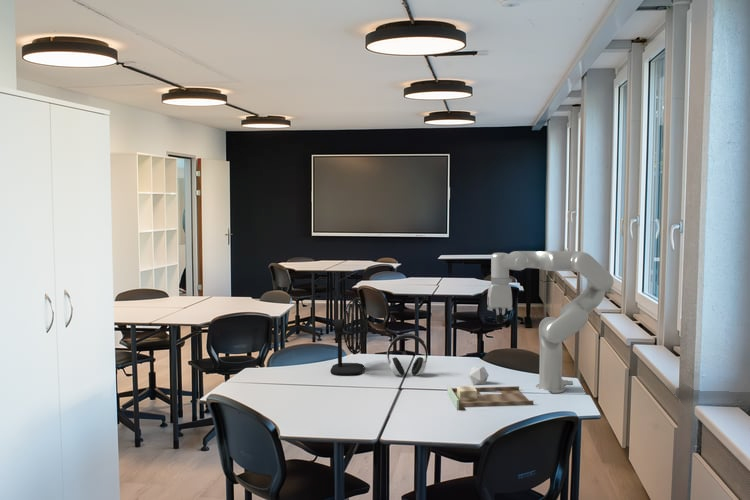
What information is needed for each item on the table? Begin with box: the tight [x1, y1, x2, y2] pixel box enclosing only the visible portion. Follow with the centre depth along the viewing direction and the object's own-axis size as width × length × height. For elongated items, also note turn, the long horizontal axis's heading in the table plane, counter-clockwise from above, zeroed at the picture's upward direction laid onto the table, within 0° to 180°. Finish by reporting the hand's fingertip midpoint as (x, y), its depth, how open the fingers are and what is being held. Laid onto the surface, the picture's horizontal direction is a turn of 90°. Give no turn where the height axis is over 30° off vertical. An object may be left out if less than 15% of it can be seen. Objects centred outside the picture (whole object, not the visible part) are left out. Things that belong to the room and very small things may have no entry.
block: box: [456, 385, 477, 401], centre depth 289 cm, size 7×7×4 cm
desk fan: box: [330, 298, 369, 376], centre depth 340 cm, size 27×18×35 cm, turn 176°
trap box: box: [451, 385, 534, 411], centre depth 289 cm, size 30×22×3 cm
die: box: [468, 366, 489, 386], centre depth 315 cm, size 8×9×10 cm
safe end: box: [446, 384, 460, 411], centre depth 288 cm, size 1×22×4 cm, turn 4°
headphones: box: [386, 333, 429, 377], centre depth 330 cm, size 19×8×20 cm, turn 91°
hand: (499, 323), depth 304 cm, fingers closed
